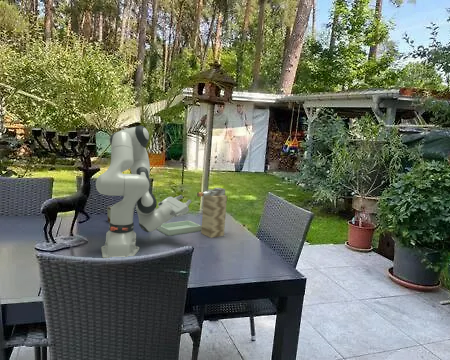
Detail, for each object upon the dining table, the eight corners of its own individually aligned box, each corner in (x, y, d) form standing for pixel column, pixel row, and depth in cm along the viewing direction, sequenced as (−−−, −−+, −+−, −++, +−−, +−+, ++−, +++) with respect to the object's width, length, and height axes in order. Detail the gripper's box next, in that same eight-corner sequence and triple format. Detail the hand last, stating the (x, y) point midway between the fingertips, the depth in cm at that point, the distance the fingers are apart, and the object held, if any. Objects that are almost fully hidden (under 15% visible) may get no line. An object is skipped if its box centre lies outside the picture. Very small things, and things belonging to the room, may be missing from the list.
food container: (125, 224, 233) (125, 209, 232) (116, 225, 229) (117, 210, 227) (114, 220, 241) (115, 205, 240) (106, 221, 237) (106, 206, 236)
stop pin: (199, 197, 214) (199, 192, 213) (196, 196, 216) (197, 192, 215) (223, 194, 225) (223, 190, 225) (220, 193, 227) (220, 189, 227)
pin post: (211, 237, 220) (214, 190, 216) (201, 233, 227) (204, 187, 223) (223, 235, 226) (227, 189, 222) (213, 231, 234) (217, 186, 230)
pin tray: (168, 236, 217) (168, 230, 216) (156, 229, 227) (156, 224, 227) (201, 231, 232) (201, 225, 232) (188, 225, 243) (189, 220, 242)
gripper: (173, 213, 194) (193, 198, 200) (156, 202, 210) (175, 189, 216) (178, 222, 197) (198, 207, 203) (160, 211, 213) (179, 198, 219)
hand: (186, 198), depth 209 cm, fingers open, 8 cm apart
